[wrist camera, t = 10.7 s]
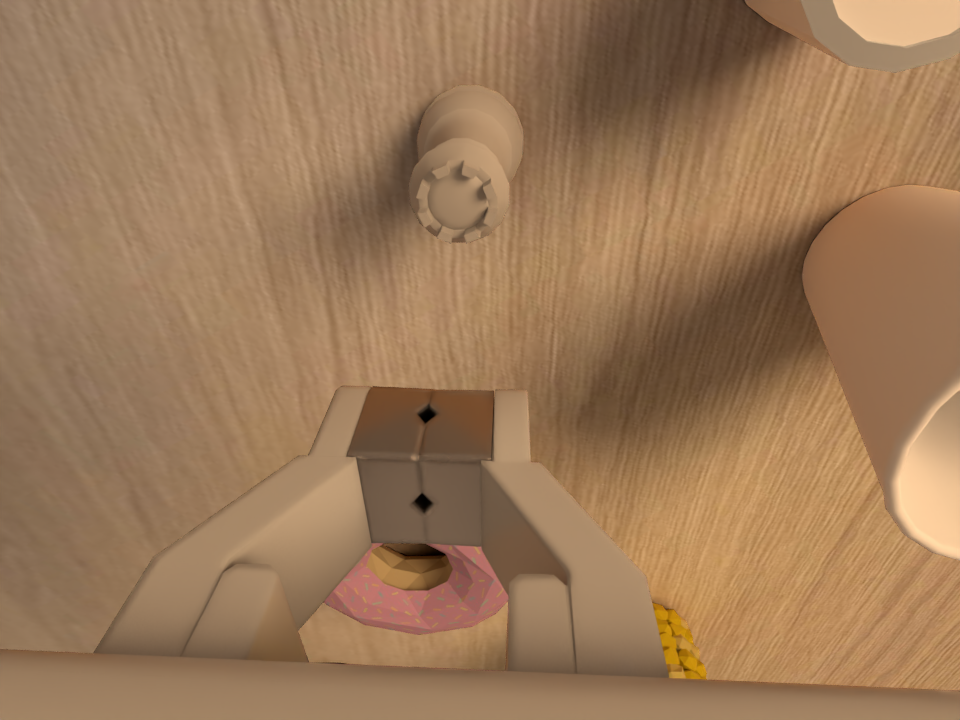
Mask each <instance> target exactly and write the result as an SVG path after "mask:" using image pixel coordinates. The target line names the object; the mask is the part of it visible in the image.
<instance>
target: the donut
mask: <svg viewBox="0 0 960 720" xmlns="http://www.w3.org/2000/svg"><path fill="white" fill-rule="evenodd" d="M382 544H384V543H372V547H371V548H370V549H369V550H368V552H367V553H366V554H365V555H364V556H363V557H362V558H361V560H360V561H359V562H358V563H357V564H356V565H355V566H354V568H353V569H352V570H351V571H350V572H349V573H348V574H347V576H346V577H345V578H344V579H343V580H342V581H341V582H340V584H339V585H338V586H337V587H336V588H335V589H334V590H333V592H332V593H331V594H330V595H329V596H328V597H327V598H326V600H325V601H324V603H325V604H326V605H328V606H330V607H332V608H334V609H336V610H338V611H340V612H342V613H343V614H345V615H347V616H349V617H351V618H353V619H355V620H357V621H359V622H360V623H362V624H364V625H368V626H374V627H379V628H385V629H390V630H395V631H401V632H406V633H412V634H417V635H422V634H428V633H435V632H441V631H447V630H454V629H460V628H466V627H472V626H474V625H476V624H478V623H480V622H481V621H483V620H485V619H487V618H489V617H491V616H492V615H494V614H496V613H497V612H498V611H499V610H500V609H501V608H502V607H503V605H504V604H505V603H506V602H507V601H508V598H509V597H508V595H507V593H506V592H505V590H504V588H503V586H502V585H501V583H500V581H499V579H498V578H497V576H496V574H495V572H494V571H493V569H492V567H491V565H490V564H489V562H488V560H487V558H486V557H485V555H484V553H483V551H482V550H481V547H475V546H459V545H442V544H427V545H429V546H431V547H433V548H435V549H437V550H439V551H441V552H443V553H445V554H446V556H408V557H406V556H404V555H402V554H400V553H398V552H396V551H393V550H391V549H389V548H387V547H385V546H383V545H382Z"/></svg>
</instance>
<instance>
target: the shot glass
mask: <svg viewBox="0 0 960 720" xmlns="http://www.w3.org/2000/svg"><path fill="white" fill-rule="evenodd" d="M745 3H746V5H748V6H749V7H750V8H751V9H753V10H754V11H755V12H756V13H758V14H759V15H760V16H761V17H763V18H764V19H765V20H766V21H768V22H769V23H771V24H773V25H775V26H777V27H778V28H780V29H782V30H784V31H786V32H788V33H790V34H791V35H793V36H795V37H797V38H799V39H801V40H802V41H804V42H806V43H808V44H810V45H812V46H814V47H815V48H817V49H819V50H821V51H823V52H825V53H826V54H828V55H830V56H832V57H834V58H836V59H838V60H839V61H841V62H843V63H845V64H847V65H849V66H854V67H861V68H867V69H874V70H880V71H886V72H893V73H897V72H901V71H905V70H909V69H913V68H916V67H920V66H924V65H928V64H932V63H936V62H940V61H944V60H947V59H950V58H952V57H954V56H955V55H957V54H958V53H960V0H745Z"/></svg>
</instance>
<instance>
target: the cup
mask: <svg viewBox="0 0 960 720" xmlns="http://www.w3.org/2000/svg"><path fill="white" fill-rule="evenodd" d="M802 281H803V287H804V292H805V295H806V297H807V300H808V302H809V305H810V307H811V310H812V313H813V315H814V318H815V320H816V323H817V325H818V328H819V330H820V333H821V335H822V338H823V340H824V343H825V346H826V348H827V351H828V353H829V356H830V358H831V361H832V363H833V366H834V368H835V371H836V373H837V376H838V379H839V381H840V384H841V386H842V389H843V391H844V394H845V396H846V399H847V401H848V404H849V407H850V409H851V412H852V414H853V417H854V419H855V422H856V424H857V427H858V429H859V432H860V434H861V437H862V440H863V442H864V445H865V447H866V450H867V452H868V455H869V457H870V460H871V462H872V465H873V467H874V470H875V473H876V475H877V478H878V480H879V483H880V485H881V488H882V490H883V493H884V502H885V507H886V510H887V511H888V512H889V514H890V515H891V517H892V518H893V520H894V521H895V523H896V524H897V526H898V527H899V529H900V530H901V532H902V533H903V534H904V535H905V536H907V537H909V538H910V539H912V540H913V541H915V542H916V543H918V544H919V545H921V546H923V547H924V548H926V549H927V550H929V551H930V552H932V553H935V554H939V555H942V556H945V557H949V558H952V559H956V560H959V561H960V191H954V190H948V189H942V188H936V187H930V186H920V185H903V186H896V187H890V188H885V189H883V190H880V191H877V192H875V193H872V194H869V195H867V196H864V197H862V198H861V199H859V200H857V201H856V202H854V203H853V204H851V205H849V206H848V207H846V208H844V209H843V210H842V211H841V212H839V213H838V214H837V215H836V216H835V217H834V218H833V219H832V220H830V221H829V222H828V223H827V224H826V225H825V226H824V228H823V229H822V230H821V232H820V233H819V234H818V236H817V237H816V238H815V239H814V241H813V242H812V244H811V246H810V249H809V251H808V253H807V255H806V258H805V260H804V266H803V272H802Z"/></svg>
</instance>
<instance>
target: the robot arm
mask: <svg viewBox="0 0 960 720" xmlns="http://www.w3.org/2000/svg"><path fill="white" fill-rule="evenodd" d="M372 543H425V544H442V545H459V546H475V547H481V550H482V551H483V553H484V555H485V557H486V558H487V560H488V562H489V564H490V565H491V567H492V569H493V571H494V572H495V574H496V576H497V578H498V579H499V581H500V583H501V585H502V586H503V588H504V590H505V592H506V593H507V595H508V597H509V598H508V620H507V642H506V663H505V671H495V670H472V669H448V668H425V667H402V666H379V665H355V664H332V663H309V661H308V658H307V655H306V653H305V650H304V647H303V644H302V641H301V638H300V635H299V633H298V630H299V629H300V628H301V627H302V626H303V625H304V624H305V622H306V621H307V620H308V619H309V618H310V617H311V616H312V614H313V613H314V612H315V611H316V610H317V609H318V608H319V606H320V605H321V604H322V603H323V602H324V601H325V600H326V598H327V597H328V596H329V595H330V594H331V593H332V592H333V590H334V589H335V588H336V587H337V586H338V585H339V584H340V582H341V581H342V580H343V579H344V578H345V577H346V576H347V574H348V573H349V572H350V571H351V570H352V569H353V568H354V566H355V565H356V564H357V563H358V562H359V561H360V560H361V558H362V557H363V556H364V555H365V554H366V553H367V552H368V550H369V549H370V548H371V547H372ZM0 720H960V691H959V690H936V689H913V688H890V687H866V686H843V685H820V684H797V683H774V682H751V681H728V680H705V679H682V678H669V674H668V669H667V665H666V661H665V656H664V652H663V648H662V643H661V639H660V635H659V630H658V626H657V621H656V617H655V613H654V608H653V604H652V600H651V595H650V591H649V586H648V582H647V578H646V575H645V574H644V573H643V572H642V571H641V570H640V569H639V568H638V567H637V566H636V565H635V564H634V563H633V561H632V560H631V559H630V558H629V557H628V556H627V555H626V554H625V553H624V552H623V551H622V550H621V549H620V547H619V546H618V545H617V544H616V543H615V542H614V541H613V540H612V539H611V538H610V537H609V536H608V535H607V533H606V532H605V531H604V530H603V529H602V528H601V527H600V526H599V525H598V524H597V523H596V522H595V521H594V519H593V518H592V517H591V516H590V515H589V514H588V513H587V512H586V511H585V510H584V509H583V508H582V507H581V505H580V504H579V503H578V502H577V501H576V500H575V499H574V498H573V497H572V496H571V495H570V494H569V493H568V491H567V490H566V489H565V488H564V487H563V486H562V485H561V484H560V483H559V482H558V481H557V480H556V479H555V477H554V476H553V475H552V474H551V473H550V472H549V471H548V470H547V469H546V468H545V467H544V466H543V465H542V463H540V462H531V453H530V431H529V409H528V393H527V391H526V390H495V399H494V391H487V390H435V389H421V388H399V387H377V386H373V387H369V386H341V387H339V388H338V389H337V390H336V391H335V394H334V396H333V398H332V401H331V403H330V405H329V408H328V410H327V412H326V415H325V417H324V419H323V422H322V424H321V426H320V429H319V431H318V433H317V436H316V438H315V440H314V443H313V445H312V447H311V450H310V452H309V455H308V456H297V457H296V458H294V459H293V460H291V461H290V462H289V463H287V464H286V465H284V466H283V467H281V468H280V469H279V470H277V471H276V472H274V473H273V474H271V475H270V476H268V477H267V478H266V479H264V480H263V481H261V482H260V483H258V484H257V485H256V486H254V487H253V488H251V489H250V490H248V491H247V492H246V493H244V494H243V495H241V496H240V497H238V498H237V499H236V500H234V501H233V502H231V503H230V504H228V505H227V506H226V507H224V508H223V509H221V510H220V511H218V512H217V513H215V514H214V515H213V516H211V517H210V518H208V519H207V520H205V521H204V522H203V523H201V524H200V525H198V526H197V527H195V528H194V529H193V530H191V531H190V532H188V533H187V534H185V535H184V536H183V537H181V538H180V539H178V540H177V541H175V542H174V543H173V544H171V545H170V546H168V547H167V548H165V549H164V550H162V551H161V552H160V553H158V554H157V555H155V556H154V557H153V558H152V560H151V561H150V563H149V564H148V566H147V568H146V569H145V571H144V572H143V574H142V576H141V577H140V579H139V580H138V582H137V584H136V585H135V587H134V588H133V590H132V592H131V593H130V595H129V596H128V598H127V600H126V601H125V603H124V605H123V606H122V608H121V609H120V611H119V613H118V614H117V616H116V617H115V619H114V621H113V622H112V624H111V625H110V627H109V629H108V630H107V632H106V633H105V635H104V637H103V638H102V640H101V641H100V643H99V645H98V646H97V648H96V649H95V651H94V653H78V652H55V651H32V650H9V649H0Z"/></svg>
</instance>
